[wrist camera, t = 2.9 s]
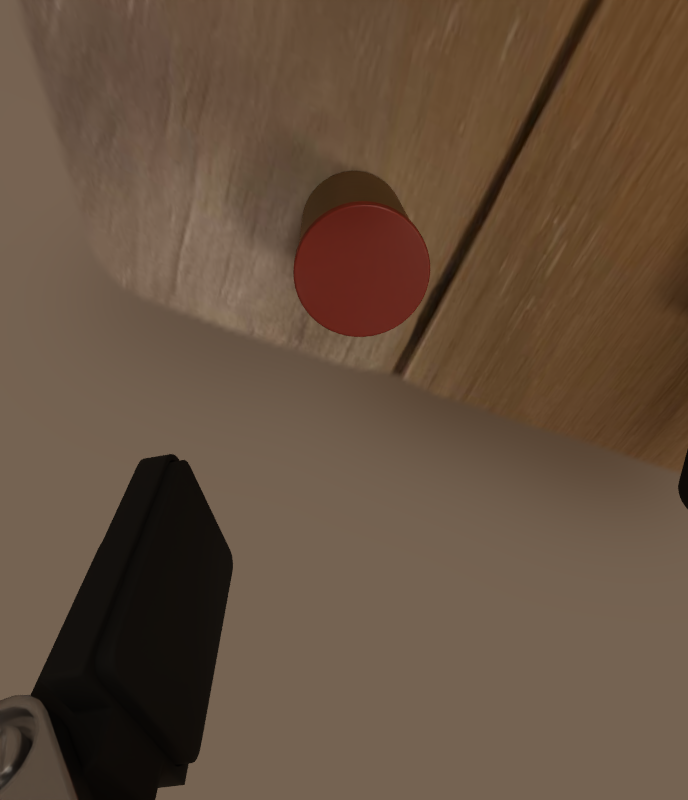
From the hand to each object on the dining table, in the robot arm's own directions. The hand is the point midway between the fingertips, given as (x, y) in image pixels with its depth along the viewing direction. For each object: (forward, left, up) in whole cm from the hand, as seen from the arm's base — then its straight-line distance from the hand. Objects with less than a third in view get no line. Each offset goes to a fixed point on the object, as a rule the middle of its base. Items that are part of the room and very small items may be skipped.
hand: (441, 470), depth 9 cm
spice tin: (-1, 0, -18) cm, 18 cm away
